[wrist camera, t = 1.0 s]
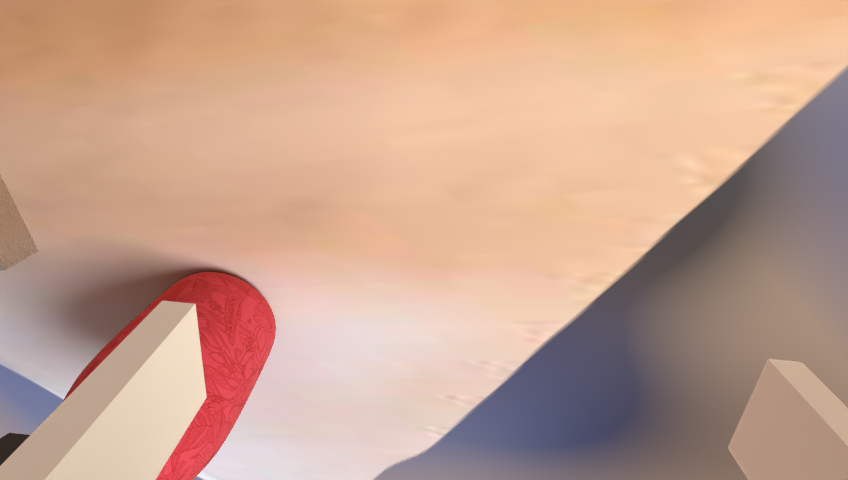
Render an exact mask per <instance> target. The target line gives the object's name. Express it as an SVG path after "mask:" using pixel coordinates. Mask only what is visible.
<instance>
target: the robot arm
mask: <svg viewBox="0 0 848 480" xmlns="http://www.w3.org/2000/svg"><path fill="white" fill-rule="evenodd" d="M206 398H207V397H206V388H205V380H204V371H203V363H202V355H201V346H200V338H199V329H198V321H197V312H196V304H193V303H182V302H172V301H161V302H160V303H159V304H158V305H157V306H156V307H155V308H154V309H153V310H152V311H151V313H150V314H149V315H148V316H147V317H146V318H145V319H144V320H143V321H142V322H141V323H140V324H139V325H138V326H137V327H136V328H135V329H134V330H133V331H132V332H131V333H130V334H129V335H128V336H127V337H126V338H125V339H124V340H123V341H122V342H121V343H120V344H119V345H118V346H117V347H116V348H115V349H114V350H113V351H112V352H111V353H110V354H109V355H108V356H107V357H106V358H105V359H104V361H103V362H102V363H101V364H100V365H99V366H98V367H97V368H96V369H95V370H94V371H93V372H92V373H91V374H90V375H89V376H88V377H87V378H86V379H85V380H84V381H83V382H82V383H81V384H80V385H79V386H78V387H77V388H76V389H75V390H74V391H73V392H72V393H71V394H70V395H69V396H68V397H67V398H66V399H65V400H64V401H63V402H62V403H61V404H60V405H59V406H58V408H57V409H56V410H55V411H54V412H53V413H52V414H51V415H50V416H49V417H48V418H47V419H46V420H45V421H44V422H43V423H42V424H41V425H40V426H39V427H38V428H37V429H36V430H35V431H34V432H33V433H32V434H31V435H24V434H14V433H9V434H7V435H5V436H4V437H2V438H1V439H0V480H156V478H157V477H158V475H159V473H160V472H161V470H162V468H163V467H164V465H165V464H166V462H167V460H168V459H169V457H170V456H171V454H172V452H173V451H174V449H175V448H176V446H177V444H178V443H179V441H180V439H181V438H182V436H183V435H184V433H185V431H186V430H187V428H188V427H189V425H190V423H191V422H192V420H193V419H194V417H195V415H196V414H197V412H198V410H199V409H200V407H201V406H202V404H203V402H204V401H205V399H206ZM728 449H729V451H730V452H731V454H732V455H733V457H734V459H735V460H736V462H737V463H738V465H739V466H740V468H741V469H742V471H743V473H744V474H745V476H746V477H747V479H748V480H848V408H847V407H846V406H845V405H844V404H843V403H842V402H841V401H840V400H839V399H838V398H837V397H836V396H835V395H834V394H833V393H832V392H831V391H830V390H829V389H828V388H827V387H826V386H825V385H824V384H823V383H822V382H821V381H820V380H819V379H818V378H817V377H816V376H815V375H814V374H813V373H812V372H811V371H810V370H809V369H808V368H807V367H806V366H805V365H804V364H803V363H802V362H797V361H786V360H776V359H768V360H767V362H766V364H765V366H764V368H763V371H762V373H761V375H760V378H759V379H758V382H757V384H756V386H755V388H754V391H753V393H752V395H751V397H750V399H749V402H748V404H747V406H746V408H745V410H744V413H743V415H742V417H741V420H740V422H739V424H738V426H737V428H736V430H735V433H734V435H733V437H732V439H731V442H730V444H729V446H728Z"/></svg>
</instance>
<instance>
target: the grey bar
mask: <svg viewBox="0 0 848 480" xmlns="http://www.w3.org/2000/svg"><path fill="white" fill-rule="evenodd" d="M37 251H38V249H37V247H36V245H35V243H34V241H33V239H32V237H31V235H30V233H29V231H28V229H27V227H26V225H25V223H24V221H23V219H22V217H21V215H20V213H19V211H18V209H17V207H16V205H15V203H14V201H13V199H12V197H11V195H10V193H9V191H8V189H7V187H6V185H5V183H4V181H3V179H2V178H1V176H0V270H6V269H8V268H9V267H11V266H13V265H15V264H16V263H18V262H20V261H22V260H23V259H25V258H27V257H29V256H30V255H32V254H34V253H36V252H37Z"/></svg>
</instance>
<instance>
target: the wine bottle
mask: <svg viewBox="0 0 848 480" xmlns="http://www.w3.org/2000/svg"><path fill="white" fill-rule="evenodd" d="M161 301H172V302H182V303H193V304H196V312H197V321H198V329H199V338H200V346H201V355H202V363H203V371H204V380H205V388H206V397H207V398H206V399H205V401H204V402H203V404H202V406H201V407H200V409H199V410H198V412H197V414H196V415H195V417H194V419H193V420H192V422H191V423H190V425H189V427H188V428H187V430H186V431H185V433H184V435H183V436H182V438H181V439H180V441H179V443H178V444H177V446H176V448H175V449H174V451H173V452H172V454H171V456H170V457H169V459H168V460H167V462H166V464H165V465H164V467H163V468H162V470H161V472H160V473H159V475H158V477H157V478H156V480H193V479H194V478H195V477H196V476H197V475H198V474H199V473H200V472H201V471H202V470H203V469H204V467H205V466H206V465H207V464H208V463H209V462H210V461H211V459H212V458H213V457H214V456H215V454H216V453H217V452H218V450H219V449H220V448H221V446H222V444H223V443H224V441H225V440H226V438H227V436H228V435H229V433H230V431H231V429H232V428H233V426H234V424H235V422H236V420H237V419H238V417H239V415H240V413H241V411H242V409H243V407H244V405H245V403H246V401H247V399H248V397H249V395H250V393H251V391H252V389H253V387H254V385H255V383H256V381H257V379H258V377H259V375H260V373H261V371H262V369H263V367H264V365H265V362H266V360H267V358H268V356H269V353H270V351H271V348H272V346H273V343H274V339H275V331H276V326H275V319H274V315H273V312H272V310H271V308H270V306H269V304H268V303H267V301H266V300H265V298H264V297H263V296H262V295H261V294H260V293H259V292H258V291H257V290H256V289H255V288H254V287H252V286H251V285H250V284H248V283H247V282H245V281H243V280H241V279H239V278H237V277H234V276H231V275H228V274H224V273H218V272H202V273H196V274H193V275H190V276H187V277H185V278H183V279H181V280H179V281H178V282H176V283H175V284H174V285H172V286H171V287H170V288H169V289H167V290H166V291H165V292H164V293H163V294H161V295H160V296H159V297H158V298H157V299H156V300H155V301H154V302H152V303H151V304H150V305H149V306H148V307H147V308H146V309H145V310H144V311H142V312H141V313H140V314H139V315H138V316H137V317H136V318H135V319H134V320H133V321H131V322H130V323H129V324H128V325H127V326H126V327H125V328H124V329H123V330H122V331H121V332H120V333H119V334H118V335H116V336H115V337H114V338H113V339H112V340H111V341H110V342H109V343H108V344H107V345H106V346H105V347H104V348H103V349H102V350H101V351H100V352H99V353H98V354H97V355H96V356H95V358H94V359H93V360H92V361H91V362H90V363H89V364H88V365H87V366H86V368H85V369H84V370H83V371H82V372H81V374H80V375H79V376H78V378H77V379H76V381H75V382H74V384H73V385H72V387H71V388H70V390H69V392H68V393H67V395H66V397H65V398H64V400H65V399H66V398H67V397H68V396H69V395H70V394H71V393H72V392H73V391H74V390H75V389H76V388H77V387H78V386H79V385H80V384H81V383H82V382H83V381H84V380H85V379H86V378H87V377H88V376H89V375H90V374H91V373H92V372H93V371H94V370H95V369H96V368H97V367H98V366H99V365H100V364H101V363H102V362H103V361H104V359H105V358H106V357H107V356H108V355H109V354H110V353H111V352H112V351H113V350H114V349H115V348H116V347H117V346H118V345H119V344H120V343H121V342H122V341H123V340H124V339H125V338H126V337H127V336H128V335H129V334H130V333H131V332H132V331H133V330H134V329H135V328H136V327H137V326H138V325H139V324H140V323H141V322H142V321H143V320H144V319H145V318H146V317H147V316H148V315H149V314H150V313H151V311H152V310H153V309H154V308H155V307H156V306H157V305H158V304H159V303H160V302H161ZM64 400H63V401H64Z"/></svg>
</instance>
